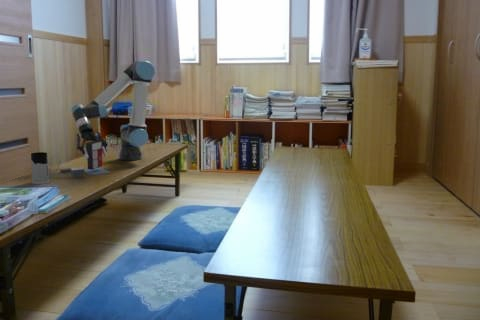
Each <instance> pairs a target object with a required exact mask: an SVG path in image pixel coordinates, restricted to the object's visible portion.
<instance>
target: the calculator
mask: <svg viewBox="0 0 480 320" xmlns="http://www.w3.org/2000/svg"><path fill="white" fill-rule="evenodd" d="M85 148H86V151H87V154H88V156H89V157H88V159H87V169H90V170H93V169H96V168H101V167H103V152H102V149H101V148H102V143H101V141H88V142H85Z"/></svg>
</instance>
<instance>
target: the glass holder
mask: <svg viewBox="0 0 480 320" xmlns="http://www.w3.org/2000/svg"><path fill="white" fill-rule="evenodd" d="M53 157H58V158H59V161H61V157H60V156H59V155H57V154H54V155H52V156H51V158H50V162H48V152H43V151H42V152H39V151H38V152H32V153H31V154H30V165H31V166H30V167H31V179H32V181H31V184H32V183H33V184H32V185H44V184H45V183H46V184H49V183H51V181H50V178H51V176H52V175H53V174H54V173H55V172H56V171H58V170H59V168H60V165H61V162H59V163H58V166H57V168H56V169H55V170H54V171H53V172H51V174H50V173H49V165H50V164H52V160H53Z"/></svg>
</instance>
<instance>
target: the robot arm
mask: <svg viewBox="0 0 480 320" xmlns="http://www.w3.org/2000/svg"><path fill="white" fill-rule="evenodd" d="M155 72H156V70H155V66H154V65H153V63H151V61H148V60H136V61H133V62H132V63H130V64H129V66H128V67H126V68H125V69H124V71H122V73H121V75H120V76H119V77H118V78H116V79H115V80H114V82H112V83H111V84H110V85H109V86H108V87H106V88H105V90H103V91H102V92H101V93H100V94H99V95H98V96H96V97H95V98H94V99H93V100H92V101H91V102H90V103H88V104H85V106H84V105H82V104H78V103H77V104H74V105H73V106H72V107H71V113H72V114H71V115H72V117H73V118H74V121H75V124H76V127H77V129H78V131H79V133H77V134H75V138H76V150H77V151H80V152H81V153H82V155H84V158H85V160H87V159H88V157H89V156H88V154H87V150H86V147H85V145H86V141H87V142H92V141H101V143H102V148H101V149H102V156H104V157H103V158H105V159H106V158H107V157H108V153H107V151H108V150H107V147H108V145H109V144H108V142H107V141H106V140H105V139H104V138H103V136H102V135H101V133H100V132H99V131H98V132H97V133H95V132H94V128H93V126H92V124H91V122H90V120H93V119H99V118H104V117H106V116H107V115H108V110H107V107H106V106H107V105H108V104H110V103H111V102H112V101H113V100H114V99H115V98H116V97H117V96H119V94H121V93H122V92H123V91H124V90H125V89H126V88H127V87H129V86H130V85H133V84H134V88H133V96H132V97H133V99H132V108H131V118H130V119H131V120H130V122H129V123H128V124H123V125H120V128H119V129H120V145H121V146H120V150H119V154H118V160H121V161H139V160H142V159H143V154H142V152H141V149H140V147H143V146H145V144H147V142H148V141H149V135H148V132H147V131H148V130H147V129H148V126H147V124H146V115H147V106H148V104H147V103H148V93H149V86H150V85H151V84H152V82H153V81H152V79H153V77H155ZM81 138H82V139H83V140H82V143H81Z"/></svg>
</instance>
